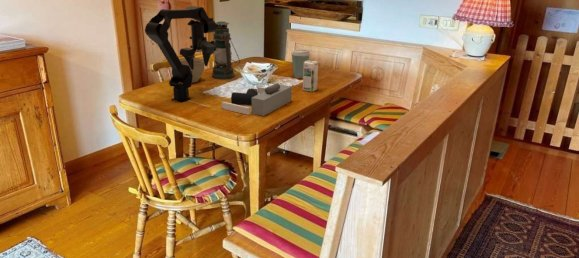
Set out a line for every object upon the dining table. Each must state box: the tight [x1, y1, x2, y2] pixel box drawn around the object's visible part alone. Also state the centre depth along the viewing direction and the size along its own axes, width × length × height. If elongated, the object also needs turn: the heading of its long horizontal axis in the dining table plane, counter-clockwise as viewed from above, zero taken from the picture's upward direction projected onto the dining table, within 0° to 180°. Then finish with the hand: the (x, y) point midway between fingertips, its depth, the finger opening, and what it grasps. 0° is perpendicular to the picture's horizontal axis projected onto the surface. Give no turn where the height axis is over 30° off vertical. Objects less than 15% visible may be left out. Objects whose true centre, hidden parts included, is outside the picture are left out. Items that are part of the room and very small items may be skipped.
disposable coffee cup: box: [291, 49, 311, 79], centre depth 237 cm, size 11×11×15 cm
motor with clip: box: [221, 82, 293, 117], centre depth 193 cm, size 29×20×10 cm
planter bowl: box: [178, 57, 205, 83], centre depth 224 cm, size 16×16×11 cm
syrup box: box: [302, 59, 319, 93], centre depth 215 cm, size 6×6×14 cm
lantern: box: [211, 20, 241, 80], centre depth 231 cm, size 19×14×30 cm
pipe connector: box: [230, 87, 260, 106], centre depth 197 cm, size 12×5×15 cm
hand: (199, 67), depth 203 cm, fingers open, 9 cm apart
